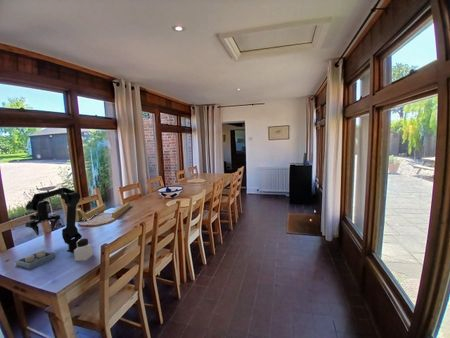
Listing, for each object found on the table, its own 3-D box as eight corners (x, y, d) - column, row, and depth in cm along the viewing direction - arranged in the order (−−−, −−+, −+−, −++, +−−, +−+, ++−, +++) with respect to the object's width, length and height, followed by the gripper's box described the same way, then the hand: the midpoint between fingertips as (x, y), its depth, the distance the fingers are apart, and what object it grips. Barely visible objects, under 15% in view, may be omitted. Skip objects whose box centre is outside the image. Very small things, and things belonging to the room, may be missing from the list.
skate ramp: (115, 222, 208) (114, 206, 207) (76, 225, 206) (74, 208, 204) (130, 210, 248) (129, 196, 246) (97, 212, 245) (96, 198, 244)
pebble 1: (36, 262, 136) (35, 255, 136) (27, 266, 132) (26, 259, 132) (33, 261, 138) (32, 254, 138) (24, 264, 134) (23, 257, 134)
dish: (54, 258, 142) (54, 253, 142) (30, 269, 129) (29, 264, 129) (41, 255, 147) (40, 250, 146) (16, 265, 134) (15, 260, 134)
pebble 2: (47, 257, 142) (46, 251, 142) (39, 261, 138) (38, 254, 138) (43, 256, 144) (42, 250, 143) (35, 260, 140) (34, 253, 139)
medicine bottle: (93, 255, 144) (91, 237, 143) (86, 260, 137) (84, 241, 136) (81, 255, 144) (79, 237, 143) (74, 261, 137) (72, 242, 136)
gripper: (49, 206, 164) (52, 226, 166) (19, 213, 147) (22, 236, 149) (59, 207, 160) (62, 228, 162) (29, 215, 143) (32, 238, 145)
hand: (45, 232), depth 154 cm, fingers open, 9 cm apart
